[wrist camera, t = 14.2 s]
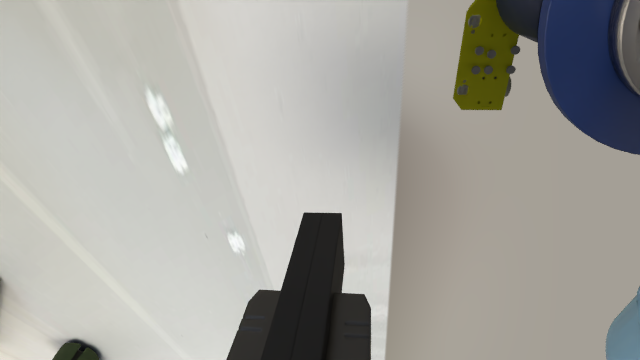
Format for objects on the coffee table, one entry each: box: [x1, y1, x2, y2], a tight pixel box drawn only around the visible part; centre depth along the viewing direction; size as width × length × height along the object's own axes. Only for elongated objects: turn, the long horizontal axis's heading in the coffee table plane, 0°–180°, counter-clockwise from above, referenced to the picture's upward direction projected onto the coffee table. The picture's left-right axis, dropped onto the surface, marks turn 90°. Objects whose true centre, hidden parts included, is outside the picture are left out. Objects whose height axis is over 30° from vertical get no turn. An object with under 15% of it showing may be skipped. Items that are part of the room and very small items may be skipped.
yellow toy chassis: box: [453, 0, 520, 110], centre depth 53 cm, size 16×6×8 cm
